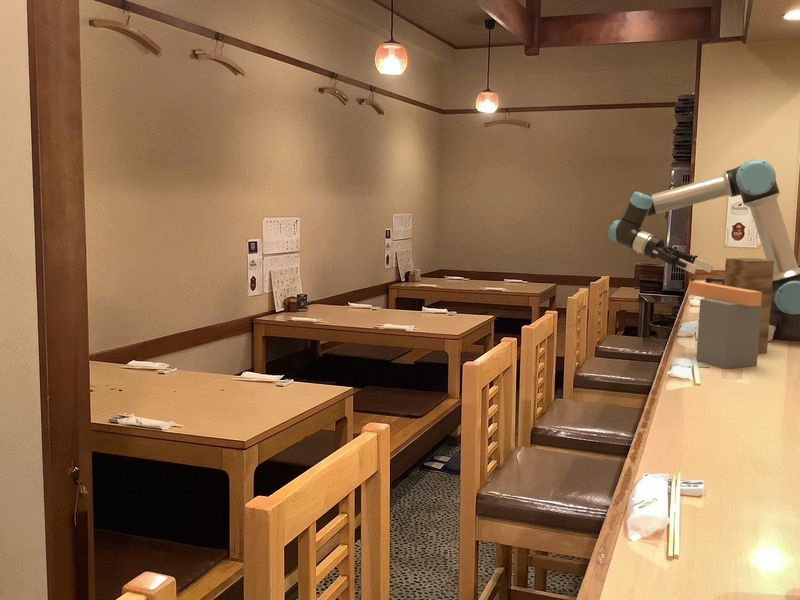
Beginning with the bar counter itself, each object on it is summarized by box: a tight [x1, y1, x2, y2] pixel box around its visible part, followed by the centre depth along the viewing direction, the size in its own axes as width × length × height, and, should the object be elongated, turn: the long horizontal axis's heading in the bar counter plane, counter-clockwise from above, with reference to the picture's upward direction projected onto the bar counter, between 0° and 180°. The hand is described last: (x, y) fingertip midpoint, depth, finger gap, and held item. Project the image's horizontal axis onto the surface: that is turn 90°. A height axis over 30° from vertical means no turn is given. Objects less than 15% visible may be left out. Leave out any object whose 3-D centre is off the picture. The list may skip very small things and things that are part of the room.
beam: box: [688, 281, 762, 306], centre depth 234 cm, size 26×4×4 cm, turn 19°
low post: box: [695, 298, 762, 370], centre depth 232 cm, size 12×12×19 cm
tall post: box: [724, 257, 774, 355], centre depth 249 cm, size 10×10×30 cm
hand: (704, 269), depth 261 cm, fingers open, 13 cm apart
